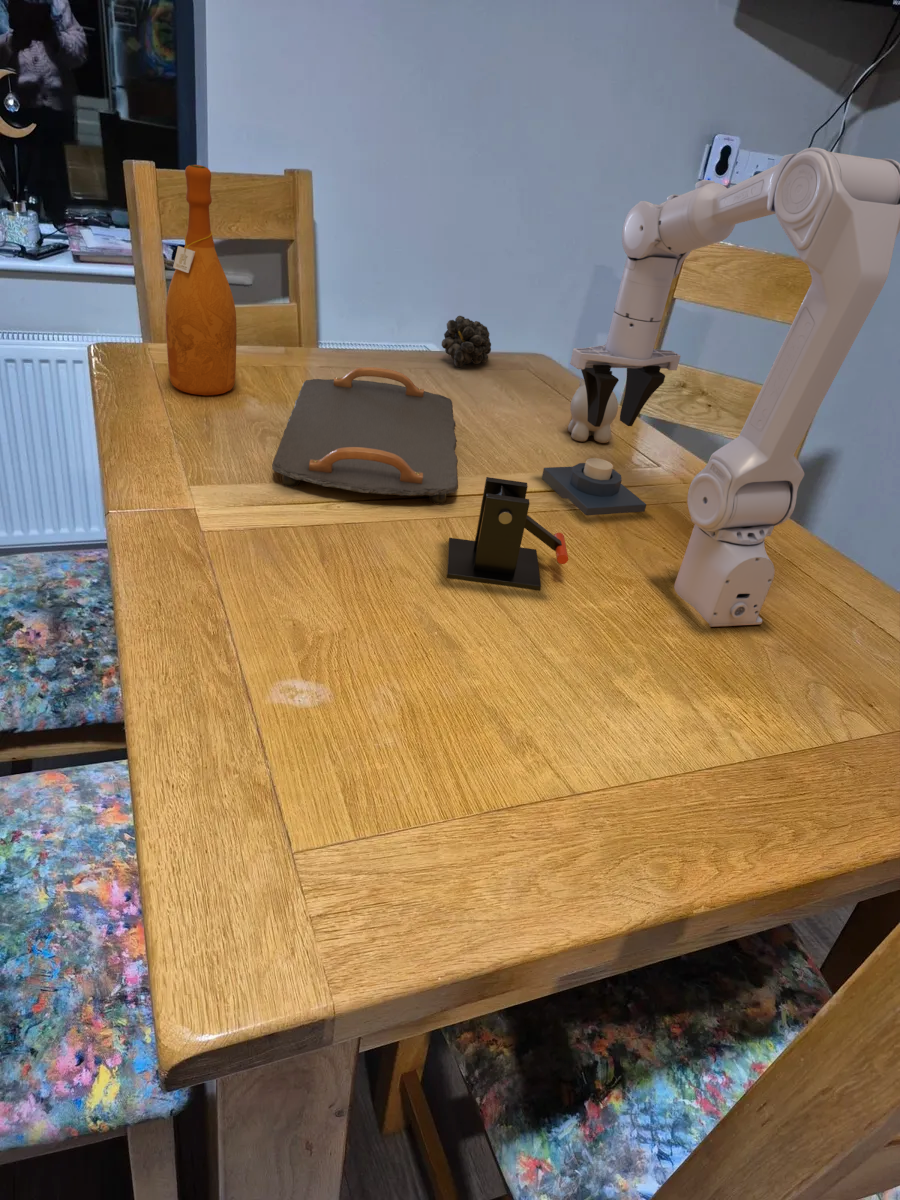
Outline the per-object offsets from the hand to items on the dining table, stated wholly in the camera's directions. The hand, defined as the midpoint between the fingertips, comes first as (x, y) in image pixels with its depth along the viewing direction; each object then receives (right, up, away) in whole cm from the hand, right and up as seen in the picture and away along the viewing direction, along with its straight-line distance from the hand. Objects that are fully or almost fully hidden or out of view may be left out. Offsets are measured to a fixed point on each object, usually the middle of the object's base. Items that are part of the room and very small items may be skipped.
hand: (609, 423), depth 106 cm
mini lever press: (-16, -19, -15) cm, 29 cm away
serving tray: (-31, -2, +9) cm, 33 cm away
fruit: (-20, +26, +49) cm, 59 cm away
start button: (-1, -6, +4) cm, 7 cm away
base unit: (-1, -9, +6) cm, 10 cm away
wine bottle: (-58, +10, +20) cm, 62 cm away
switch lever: (-13, -15, -17) cm, 26 cm away
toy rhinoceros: (+1, +4, +27) cm, 27 cm away
